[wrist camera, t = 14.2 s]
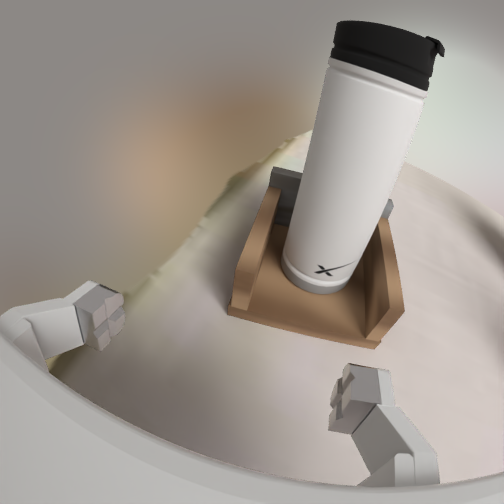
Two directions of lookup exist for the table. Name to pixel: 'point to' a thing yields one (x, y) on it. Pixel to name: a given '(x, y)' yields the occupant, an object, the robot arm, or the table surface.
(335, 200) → the travel mug
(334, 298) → the cradle
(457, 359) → the table surface
